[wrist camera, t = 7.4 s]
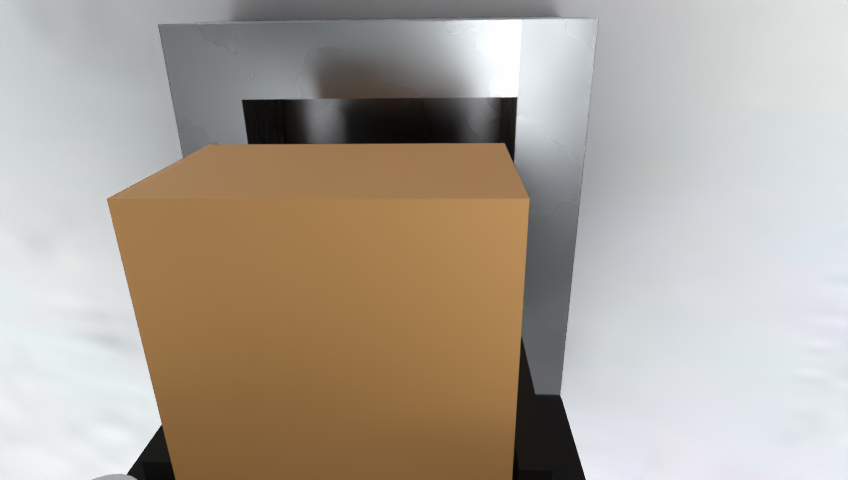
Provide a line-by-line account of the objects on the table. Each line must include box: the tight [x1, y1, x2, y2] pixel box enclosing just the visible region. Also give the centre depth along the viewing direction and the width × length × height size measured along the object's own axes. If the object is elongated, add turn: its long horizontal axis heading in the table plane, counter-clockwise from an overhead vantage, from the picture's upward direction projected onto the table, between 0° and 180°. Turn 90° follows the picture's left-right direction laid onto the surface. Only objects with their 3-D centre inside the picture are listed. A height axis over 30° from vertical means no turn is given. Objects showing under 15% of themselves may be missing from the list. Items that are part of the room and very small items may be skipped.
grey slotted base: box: [158, 16, 598, 396], centre depth 17 cm, size 15×10×4 cm, turn 1°
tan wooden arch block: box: [107, 143, 530, 480], centre depth 12 cm, size 12×5×7 cm, turn 1°
